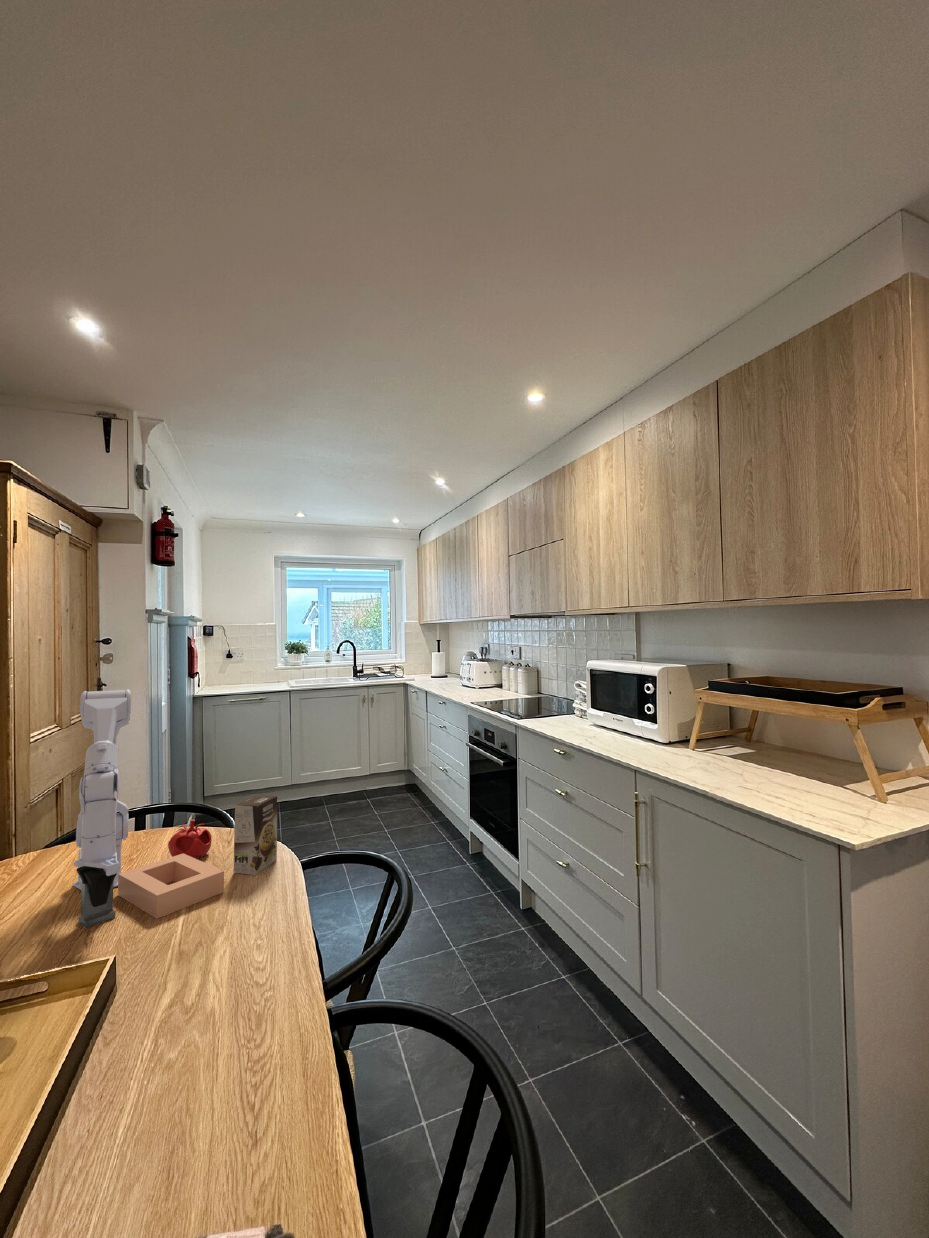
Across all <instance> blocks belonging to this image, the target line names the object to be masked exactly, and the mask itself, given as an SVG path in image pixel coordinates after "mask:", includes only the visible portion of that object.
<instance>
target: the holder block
mask: <svg viewBox="0 0 929 1238" xmlns="http://www.w3.org/2000/svg"><path fill="white" fill-rule="evenodd" d="M169 883H171V884H169ZM224 891H225V871H224V870H223V869H220V868H218V867H215V866H213V865H211V864H209V863H206V862H204V861H202V860H199V859H198V858H197V859H195V858H193V857H190V856H188V855H186V854H180V855H177V856H173V857H172V856H170V857H168V858H167V857H166V858H165V859H161V860H158V861H155V862H152V863H149V864H146V865H143V866H139V867H136V868H133V869H129V870H127V871H123V872H121V873H120V874H118V886H117V896H119V897H120V898H122V899H124V900H125V901H127V902H128V903H130V904H131V905H133V906H135V907H137V908H138V909H140V910H142V911H143V912H144V913H146V914H147V915H150V916H151V917H153V918H155V919H159V918H160V919H161V918H162V917H164V916H167V915H170V914H173V913H175V912H177V911H180V910H182V909H185V908H188V907H191V906H193V905H195V904H197V903H200V902H202V901H205V900H207V899H210V898H212V897H215V896H218V895H220V894H222V893H224Z"/></svg>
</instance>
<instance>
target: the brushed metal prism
mask: <svg viewBox="0 0 929 1238" xmlns="http://www.w3.org/2000/svg"><path fill="white" fill-rule="evenodd" d="M113 883H114V880H113ZM113 883H112V885H111V888H110V892H109V896H108V899H107V902H106V904H103V905H100V906H97V907H93V904H92V899H91V891H90V886H89V883H88V881H85V882H82V890H80V892H81V893H80V894H81V895H80V896H81V900H80V915H78V917H77V918H78V919H77V922H78V924H80V925H81V926H82V927H84V928H85V930H86V929H89V928H92V927H94V926H98V925H100V924H102V923H104V922H108V921H111V920H113V919H115V918H116V911H115V910H114V887H113Z"/></svg>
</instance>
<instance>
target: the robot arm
mask: <svg viewBox="0 0 929 1238" xmlns="http://www.w3.org/2000/svg"><path fill="white" fill-rule="evenodd" d="M131 711H132V691H131V690H130V689H128V688H127V689H120V690H119V689H118V690H117V689H116V690H98V691H97V690H95V691H93V690H92V691H87V690H84V691H83V692H82V693H81V694H80V702H79V715H80V718H81V724H82V726H83V728H85V729H89V730H91V731H92V732H93V743H92V744H91V745H90V746H89V747H88V748H87V749H86V752H85V761H84V770H83V771H84V772H83V777H80V780H79V791H78V792H79V793H78V794H79V804H80V811H79V814H77V822H76V831H75V832H76V833H75V845H76V846H77V847H78V849H79V850H78V858H77V860H74V861H73V866H74V867H76V873H77V881H75V882H73V883H72V886H74V887H75V888H76V889H79V890H80V891H81V890H82V882H85V881H88V883H89V886H90V891H91V899H92V904H93V907H97V906H100V905H103V904H106V902H107V899H108V896H109V892H110V888H111V885H112V883H113V880H114V883H113V888H115V887H118V874H120V873H122V844H123V841H126V839H128V838H129V819H130V818H129V807H128V805H127V804H126V803H124V802H122V801H120V800H118V799H119V797H120V779H121V777H120V771H119V747H118V745H117V740H118V739H117V738H118V735H119V732H120V729H121V728H123V727H125V726H126V725H129V721H130V720H131ZM117 812H118V813H117Z"/></svg>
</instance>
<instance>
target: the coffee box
mask: <svg viewBox="0 0 929 1238" xmlns="http://www.w3.org/2000/svg"><path fill="white" fill-rule="evenodd" d="M233 833H234V834H233V835H234V836H233V838H234V839H233V873H234V874H243V875H250V876H251V875H253V876H256V875H258V874H259V873H261V872H262V871H263V870H265V869H266V868H268V867H269V866H271V865H272V864H274V863H275V862H276V861H277V859H278V858H277V857H278V855H277V853H278V795H254V796H252V797H250V798H248V799H245V800H242V801H240V802H238V803H236V804H234V832H233ZM273 862H274V863H273Z"/></svg>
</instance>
